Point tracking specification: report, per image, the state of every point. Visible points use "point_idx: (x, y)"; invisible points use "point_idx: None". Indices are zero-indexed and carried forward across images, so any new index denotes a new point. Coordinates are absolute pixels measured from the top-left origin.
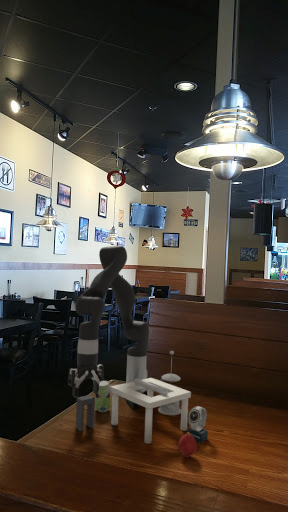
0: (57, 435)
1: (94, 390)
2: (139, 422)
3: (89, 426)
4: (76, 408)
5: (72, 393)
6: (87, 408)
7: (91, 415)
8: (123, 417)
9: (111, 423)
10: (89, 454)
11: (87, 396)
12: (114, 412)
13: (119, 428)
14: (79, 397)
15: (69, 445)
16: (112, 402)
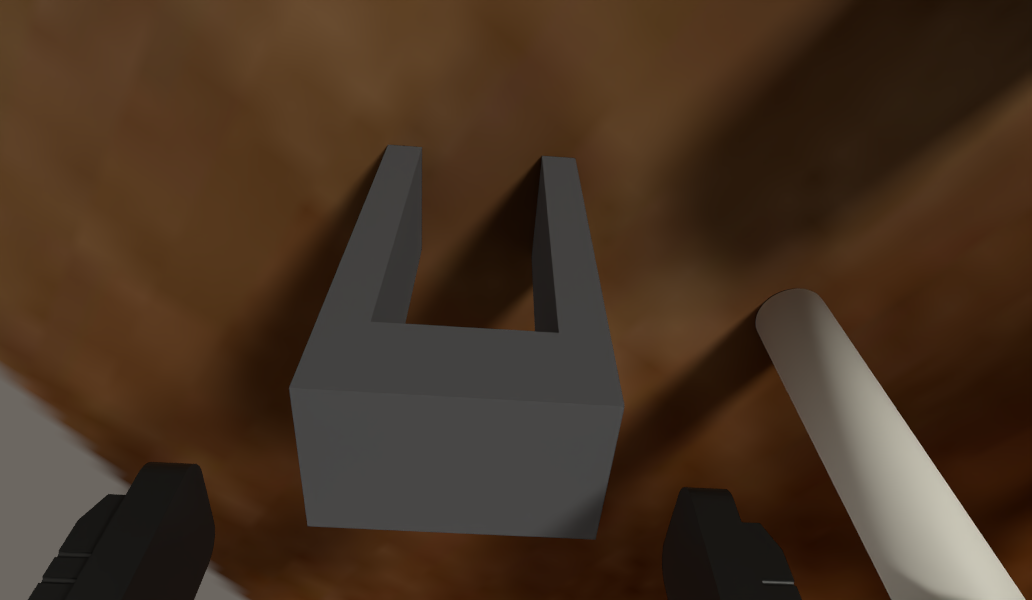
0: (114, 175)
1: (687, 564)
2: (977, 423)
3: (536, 222)
4: (338, 267)
5: (68, 540)
6: (549, 276)
7: (536, 330)
8: (1020, 253)
9: (763, 313)
10: (239, 553)
11: (524, 441)
12: (807, 431)
13: (733, 408)
14: (350, 398)
15: (156, 398)
16: (856, 501)
